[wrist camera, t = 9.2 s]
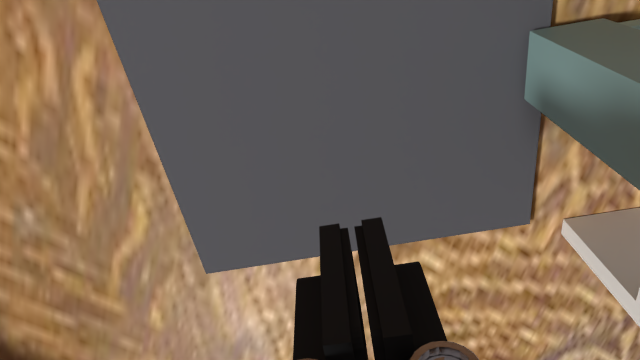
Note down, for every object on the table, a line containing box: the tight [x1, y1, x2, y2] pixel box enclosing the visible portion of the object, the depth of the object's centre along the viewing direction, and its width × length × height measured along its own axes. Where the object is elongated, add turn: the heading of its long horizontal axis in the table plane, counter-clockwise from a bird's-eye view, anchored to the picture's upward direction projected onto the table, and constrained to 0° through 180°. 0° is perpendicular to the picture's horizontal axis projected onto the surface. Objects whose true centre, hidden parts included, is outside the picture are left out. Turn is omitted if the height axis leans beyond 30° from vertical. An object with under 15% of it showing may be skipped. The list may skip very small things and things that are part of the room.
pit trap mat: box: [97, 0, 553, 274], centre depth 20 cm, size 18×18×1 cm
